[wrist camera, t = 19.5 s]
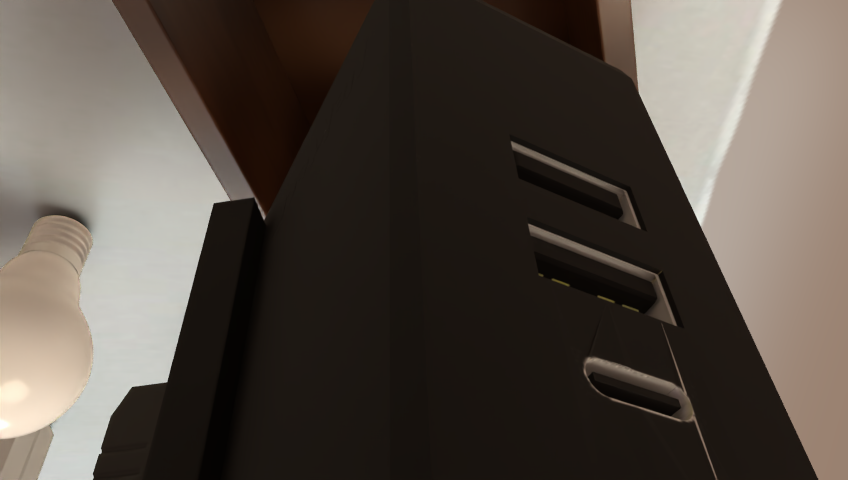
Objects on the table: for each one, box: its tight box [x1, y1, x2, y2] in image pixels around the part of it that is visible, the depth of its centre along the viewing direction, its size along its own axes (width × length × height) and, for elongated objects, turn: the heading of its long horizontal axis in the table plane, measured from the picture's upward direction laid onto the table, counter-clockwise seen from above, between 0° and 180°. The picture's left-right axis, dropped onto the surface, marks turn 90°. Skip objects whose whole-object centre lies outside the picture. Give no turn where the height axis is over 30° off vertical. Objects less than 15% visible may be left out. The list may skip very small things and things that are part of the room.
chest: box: [112, 0, 639, 220], centre depth 24 cm, size 16×13×9 cm
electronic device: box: [220, 0, 818, 480], centre depth 11 cm, size 4×10×10 cm, turn 152°
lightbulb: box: [0, 215, 93, 439], centre depth 32 cm, size 6×6×11 cm
